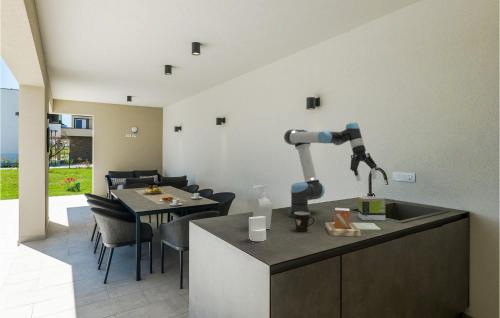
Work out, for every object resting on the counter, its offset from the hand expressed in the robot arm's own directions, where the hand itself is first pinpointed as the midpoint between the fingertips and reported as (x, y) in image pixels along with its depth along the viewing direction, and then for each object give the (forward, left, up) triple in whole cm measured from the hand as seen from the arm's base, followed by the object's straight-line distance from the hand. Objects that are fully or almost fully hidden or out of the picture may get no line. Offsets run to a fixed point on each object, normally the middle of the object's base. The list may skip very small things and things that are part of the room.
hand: (367, 180), depth 171 cm
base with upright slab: (-64, -31, -29) cm, 77 cm away
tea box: (+9, +22, -29) cm, 38 cm away
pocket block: (-17, -11, -29) cm, 35 cm away
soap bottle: (-64, -9, -29) cm, 71 cm away
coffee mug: (-39, -12, -29) cm, 50 cm away
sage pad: (-1, +1, -29) cm, 29 cm away
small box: (-17, -11, -29) cm, 35 cm away
